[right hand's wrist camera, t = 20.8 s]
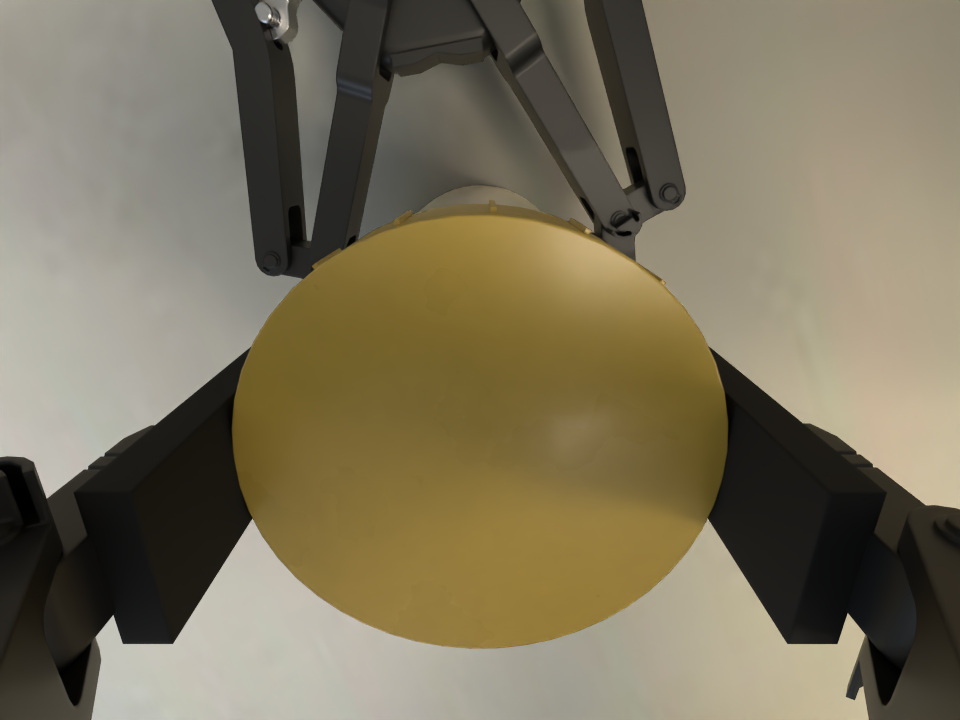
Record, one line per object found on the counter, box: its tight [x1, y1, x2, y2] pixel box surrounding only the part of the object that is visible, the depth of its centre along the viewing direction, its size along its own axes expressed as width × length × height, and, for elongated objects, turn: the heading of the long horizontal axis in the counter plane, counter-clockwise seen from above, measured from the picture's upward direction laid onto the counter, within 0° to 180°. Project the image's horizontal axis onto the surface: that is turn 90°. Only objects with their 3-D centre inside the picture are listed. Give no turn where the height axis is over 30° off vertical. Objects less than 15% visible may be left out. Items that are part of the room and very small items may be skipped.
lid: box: [232, 200, 728, 649], centre depth 11 cm, size 9×10×2 cm
